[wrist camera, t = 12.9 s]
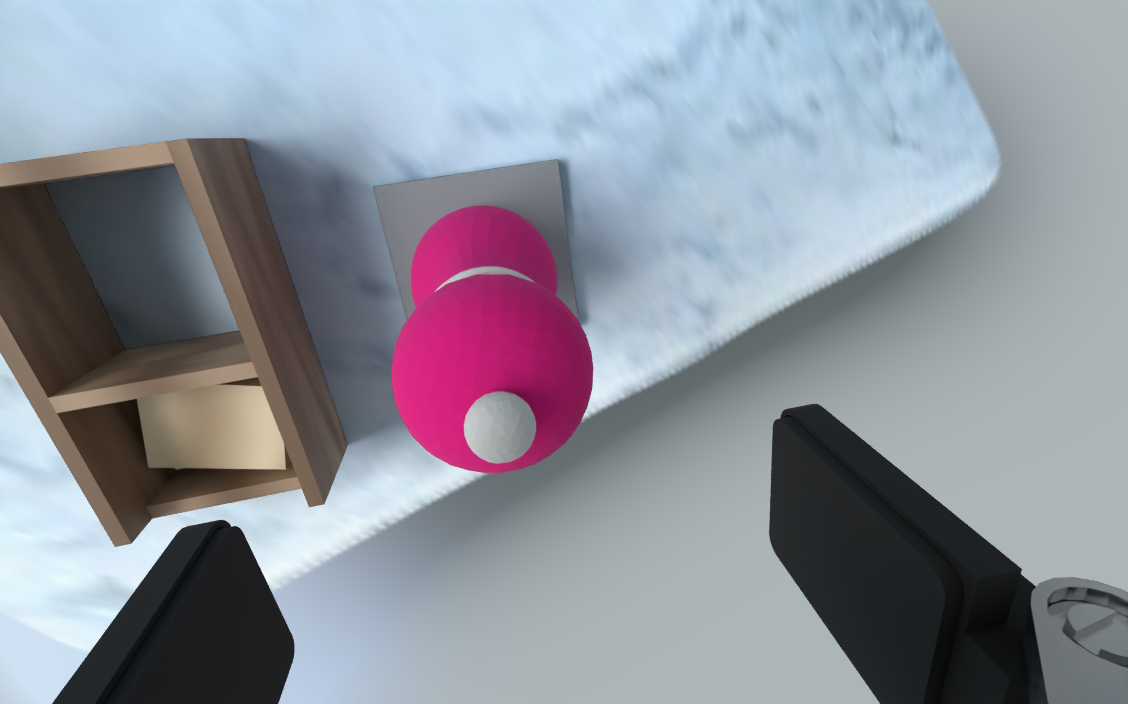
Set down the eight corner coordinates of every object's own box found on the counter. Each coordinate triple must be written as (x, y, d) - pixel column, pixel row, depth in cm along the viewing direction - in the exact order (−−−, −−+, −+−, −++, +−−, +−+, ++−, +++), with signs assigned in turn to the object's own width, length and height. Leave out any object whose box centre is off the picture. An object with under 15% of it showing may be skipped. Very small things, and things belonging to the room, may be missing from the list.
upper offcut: (290, 373, 31) (280, 387, 29) (295, 452, 32) (285, 469, 31) (152, 367, 29) (133, 381, 28) (165, 450, 31) (148, 467, 29)
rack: (243, 138, 27) (186, 138, 22) (347, 445, 34) (324, 504, 29) (17, 169, 26) (-103, 177, 21) (173, 479, 33) (114, 546, 28)
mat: (556, 159, 30) (557, 159, 29) (577, 326, 34) (579, 329, 33) (374, 186, 29) (372, 187, 28) (418, 355, 33) (417, 358, 32)
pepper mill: (558, 212, 30) (690, 328, 12) (531, 331, 33) (607, 576, 15) (428, 182, 29) (355, 264, 10) (410, 309, 31) (324, 557, 13)
